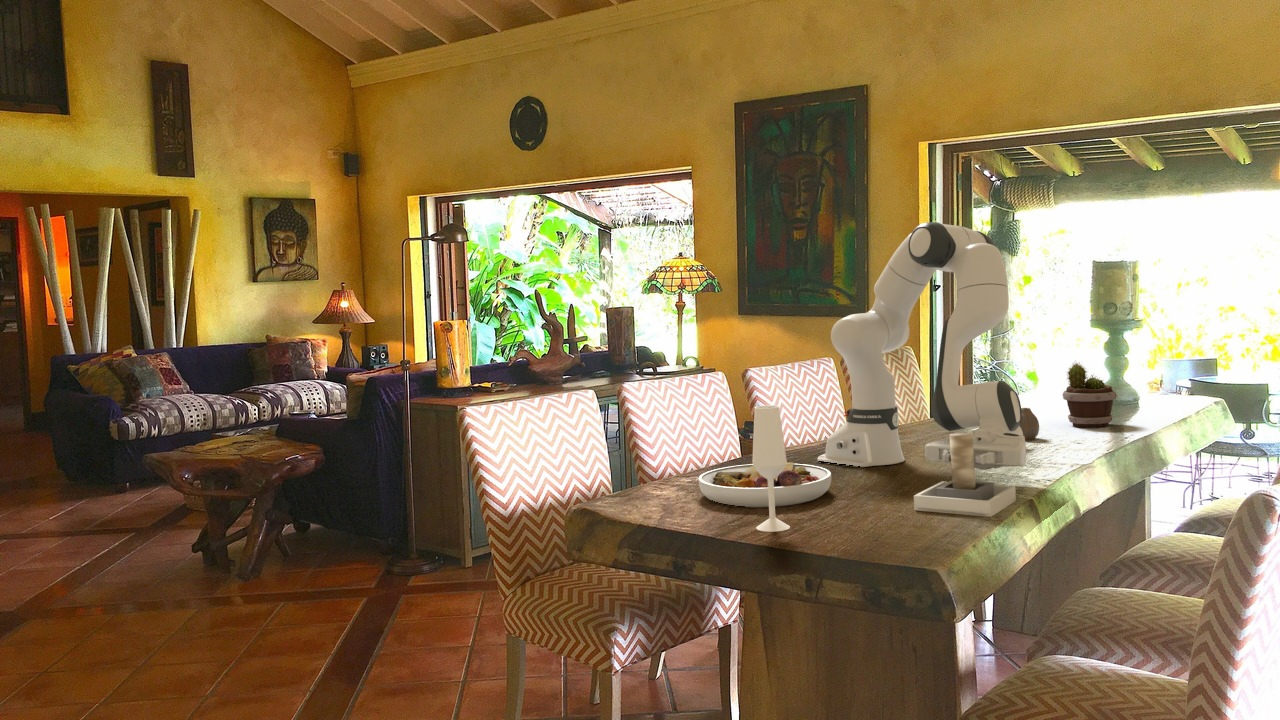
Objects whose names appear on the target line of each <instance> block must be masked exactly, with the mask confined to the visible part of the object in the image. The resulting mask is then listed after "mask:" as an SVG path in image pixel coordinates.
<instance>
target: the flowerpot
mask: <svg viewBox="0 0 1280 720" xmlns="http://www.w3.org/2000/svg"><path fill="white" fill-rule="evenodd" d="M1080 363H1081V361H1079V362H1078V363H1077V361H1075V362H1072V365H1070V366H1069V367H1067V371H1066V380H1067V383H1068V384H1067V385H1068V386H1067V387H1066V390H1064V391H1063V392H1062V395H1061V396H1062V398H1063V400H1065V401H1066V403H1067V407H1068V411H1069V414H1068V415H1067V418H1068V421H1069V422H1070V423H1072V426H1073V427H1077V428H1088V429H1095V428H1103V427H1108V426H1109V424H1110V423H1111V422H1112V421H1113V415H1112V414H1111V413H1112V411H1113V410H1112V408H1113V403H1114V400H1116V399H1117V396H1118V394H1117V392H1116V390H1115V389H1113V388H1112V385H1106V384H1105V383H1104V380H1105V379H1101V377H1096V375H1094V373H1093V374H1092V375H1090V377H1089V376H1088V373H1089V371H1087V370H1088V369H1087V368H1086V367H1085V366H1083V365H1082V364H1080Z"/></svg>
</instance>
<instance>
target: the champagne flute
mask: <svg viewBox="0 0 1280 720" xmlns="http://www.w3.org/2000/svg"><path fill="white" fill-rule="evenodd" d="M753 413H754V414H753V415H754V416H753V417H754V418H753V439H752V463H751V464H753V466H754V468H755V469H756V470H757V471H758V472H759V473H760V474H761V475H762V476H763V477H765V478H766V479H768V498H769V507H768V511H769V512H768V514H769V517H768V518H767V519H766V520H765V521H763V522H762V523H760V524H759V525H758V526H756V527H755V529H756V530H758V531H760V532H771V533H772V532H773V533H774V532H783V531H786V530H789V529H791V526H790V525H788V524H787V523H785V522H783V521H782V520H780V519H778V518H777V517H776V507H775V499H774V480H773V479H774V478H776V477H777V476H778V475H779V474H780V473H781V472H782V471H783V469H784V468H785V466H786V463H787V462H788V461H787V453H786V447H785V446H786V445H785V441H784V431H783V426H782V420H781V412H780V407H779V405H777V404H775V405H772V404H771V405H758V406H754V412H753Z"/></svg>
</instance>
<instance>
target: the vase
mask: <svg viewBox="0 0 1280 720" xmlns="http://www.w3.org/2000/svg"><path fill="white" fill-rule="evenodd" d="M1021 412H1022V419H1021V422H1020V425H1019V426H1020V427H1021V429H1022V432H1023V436H1024V437H1025V441H1032V440H1035V439H1036V438H1037V437H1038V435H1039V433H1040V423H1039V420H1038V418H1037V416H1036V415H1035V414H1034V413H1033V411H1032V410H1031V408H1030V407H1021Z"/></svg>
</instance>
